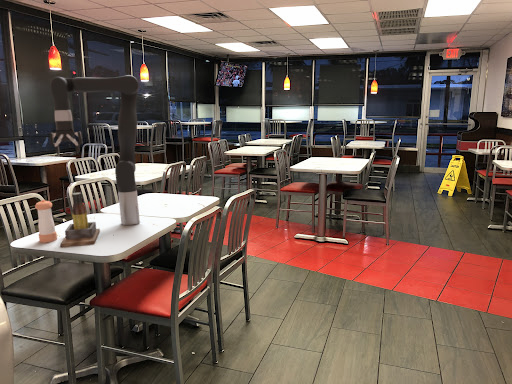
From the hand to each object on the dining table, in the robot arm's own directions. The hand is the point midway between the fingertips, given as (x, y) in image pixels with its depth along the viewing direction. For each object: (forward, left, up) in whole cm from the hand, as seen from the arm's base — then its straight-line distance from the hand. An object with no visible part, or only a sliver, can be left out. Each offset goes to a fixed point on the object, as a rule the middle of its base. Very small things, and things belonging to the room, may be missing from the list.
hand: (67, 153), depth 199 cm
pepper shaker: (+10, +16, -38) cm, 43 cm away
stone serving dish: (-5, +19, -38) cm, 43 cm away
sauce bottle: (-5, +17, -37) cm, 41 cm away
